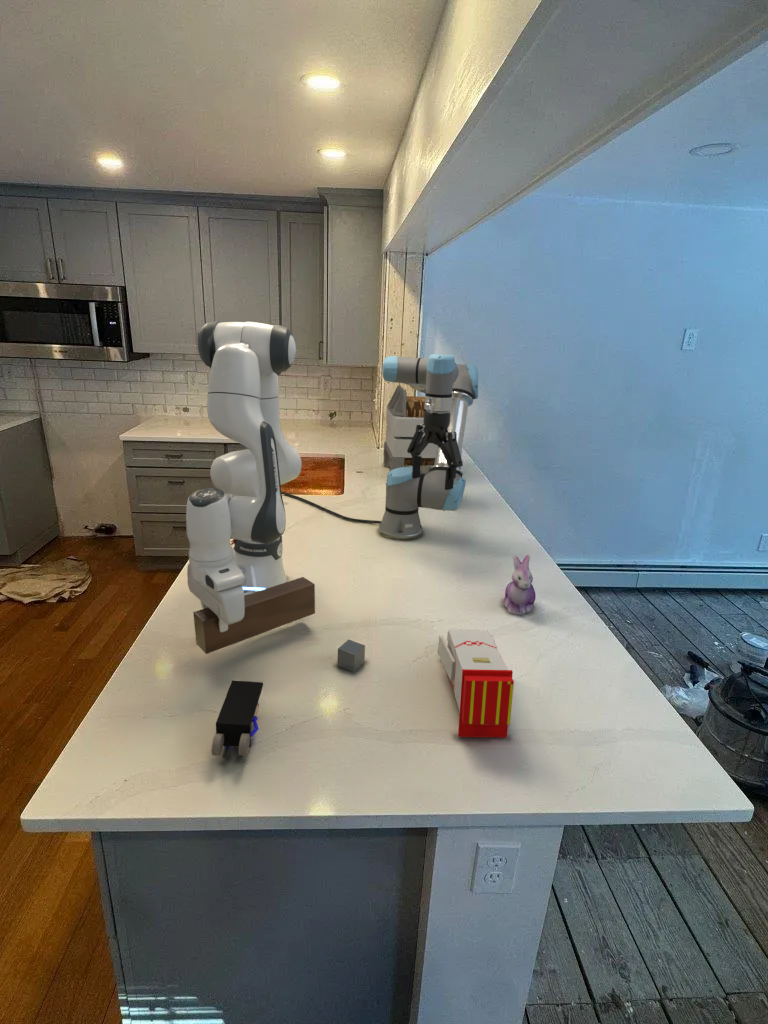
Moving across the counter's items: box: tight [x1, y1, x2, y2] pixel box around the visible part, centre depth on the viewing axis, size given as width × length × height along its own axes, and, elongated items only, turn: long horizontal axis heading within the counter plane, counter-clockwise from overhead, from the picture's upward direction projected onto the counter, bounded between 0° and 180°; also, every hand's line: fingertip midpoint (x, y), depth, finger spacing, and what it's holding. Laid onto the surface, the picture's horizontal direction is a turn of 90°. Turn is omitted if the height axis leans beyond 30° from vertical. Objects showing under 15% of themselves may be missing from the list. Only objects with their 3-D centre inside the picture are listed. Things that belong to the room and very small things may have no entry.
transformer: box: [383, 384, 463, 472], centre depth 268 cm, size 34×33×41 cm
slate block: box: [336, 639, 366, 673], centre depth 125 cm, size 4×4×4 cm
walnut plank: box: [192, 576, 316, 655], centre depth 130 cm, size 5×28×8 cm, turn 131°
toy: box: [437, 628, 515, 738], centre depth 117 cm, size 12×13×30 cm
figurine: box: [503, 553, 537, 615], centre depth 151 cm, size 9×10×15 cm
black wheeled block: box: [211, 679, 264, 761], centre depth 102 cm, size 7×8×15 cm
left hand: (216, 624), depth 123 cm, fingers closed on walnut plank, 5 cm apart
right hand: (432, 483), depth 167 cm, fingers open, 13 cm apart
